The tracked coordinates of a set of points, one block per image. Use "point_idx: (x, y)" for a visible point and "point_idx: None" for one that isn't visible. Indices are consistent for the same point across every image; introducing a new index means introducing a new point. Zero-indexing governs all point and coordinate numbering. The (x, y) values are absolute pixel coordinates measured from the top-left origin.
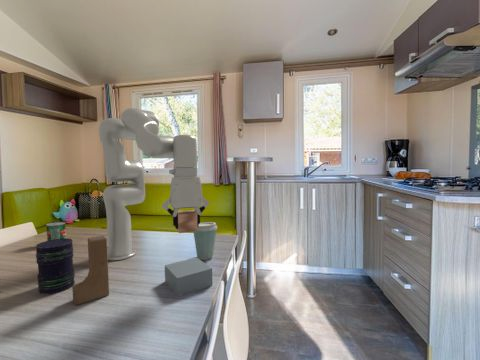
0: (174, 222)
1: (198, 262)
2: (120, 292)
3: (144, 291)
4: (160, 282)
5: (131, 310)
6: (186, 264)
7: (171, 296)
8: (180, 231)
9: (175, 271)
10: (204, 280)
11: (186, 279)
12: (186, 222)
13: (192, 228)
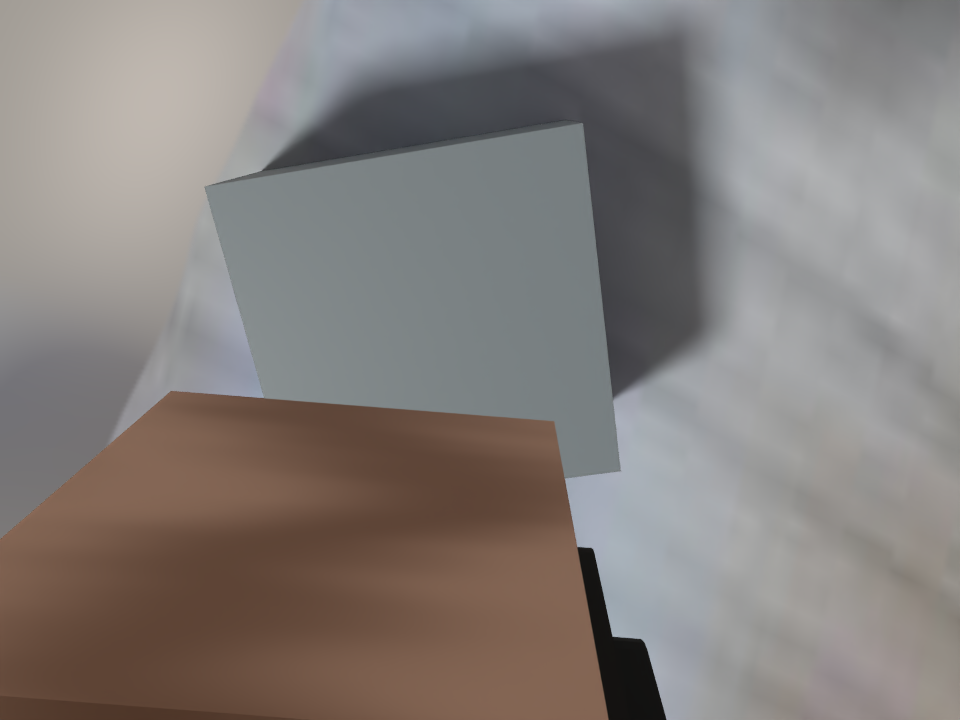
0: (635, 687)
1: (306, 394)
2: (929, 381)
3: (774, 318)
4: (635, 407)
5: (922, 70)
6: (427, 398)
7: (609, 142)
8: (523, 429)
9: (561, 285)
10: (317, 163)
11: (487, 137)
12: (358, 522)
13: (254, 429)
